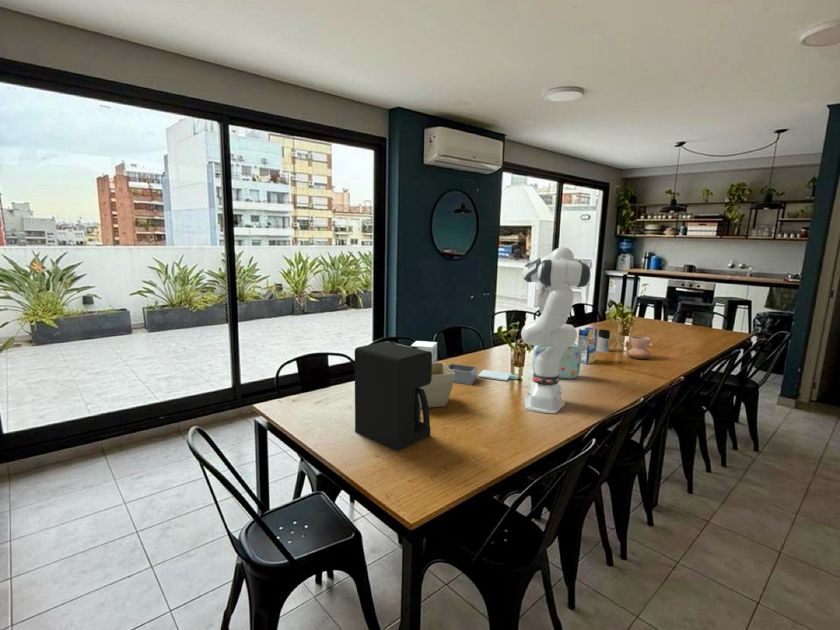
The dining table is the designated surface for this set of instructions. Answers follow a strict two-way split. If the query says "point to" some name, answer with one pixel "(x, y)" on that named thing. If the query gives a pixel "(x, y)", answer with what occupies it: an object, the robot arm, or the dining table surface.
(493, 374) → the lid
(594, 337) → the beverage box
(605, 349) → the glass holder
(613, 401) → the dining table surface
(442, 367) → the flower pot
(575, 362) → the lunch box
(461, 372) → the tub
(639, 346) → the ceramic jug
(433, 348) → the supplement box
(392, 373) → the coffee maker
